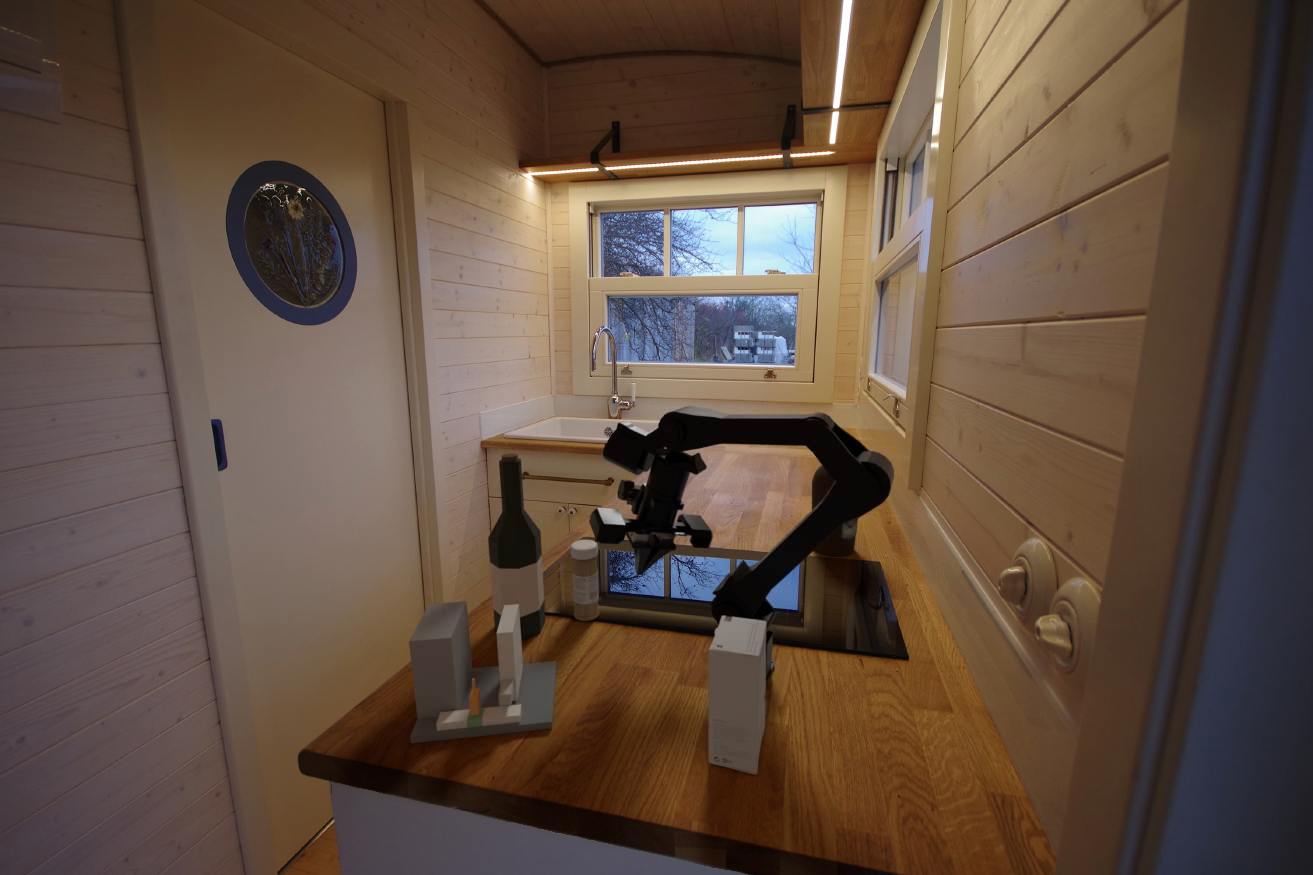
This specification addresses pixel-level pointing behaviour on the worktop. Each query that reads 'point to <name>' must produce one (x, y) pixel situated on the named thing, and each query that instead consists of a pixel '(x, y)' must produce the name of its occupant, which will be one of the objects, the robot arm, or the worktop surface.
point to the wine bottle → (516, 554)
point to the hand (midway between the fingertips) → (638, 573)
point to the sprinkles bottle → (585, 579)
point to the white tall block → (509, 654)
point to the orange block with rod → (474, 699)
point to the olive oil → (845, 534)
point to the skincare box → (737, 693)
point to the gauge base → (469, 683)
